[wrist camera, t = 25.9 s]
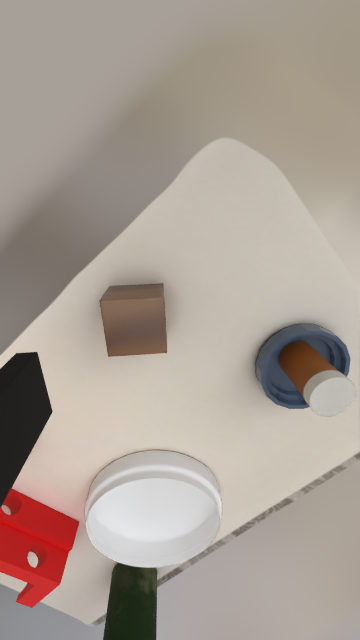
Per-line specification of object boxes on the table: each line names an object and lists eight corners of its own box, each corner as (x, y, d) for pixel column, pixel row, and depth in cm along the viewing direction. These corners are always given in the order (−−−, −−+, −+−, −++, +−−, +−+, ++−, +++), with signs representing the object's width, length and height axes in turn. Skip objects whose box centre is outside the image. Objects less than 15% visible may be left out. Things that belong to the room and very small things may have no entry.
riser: (109, 286, 42) (99, 300, 35) (163, 283, 42) (163, 296, 36) (115, 335, 45) (108, 356, 38) (166, 332, 45) (167, 352, 38)
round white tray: (60, 497, 57) (50, 525, 52) (163, 426, 52) (163, 449, 47) (148, 556, 65) (147, 586, 60) (244, 501, 60) (251, 527, 55)
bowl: (280, 309, 45) (289, 317, 41) (354, 339, 48) (368, 348, 44) (239, 382, 49) (244, 394, 46) (309, 405, 52) (319, 418, 49)
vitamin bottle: (289, 335, 46) (326, 371, 35) (321, 347, 47) (365, 385, 37) (270, 366, 48) (300, 409, 37) (301, 377, 49) (338, 421, 38)
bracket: (63, 581, 50) (31, 607, 53) (79, 521, 60) (51, 546, 62) (-33, 542, 45) (-64, 573, 47) (1, 483, 55) (-26, 512, 57)
